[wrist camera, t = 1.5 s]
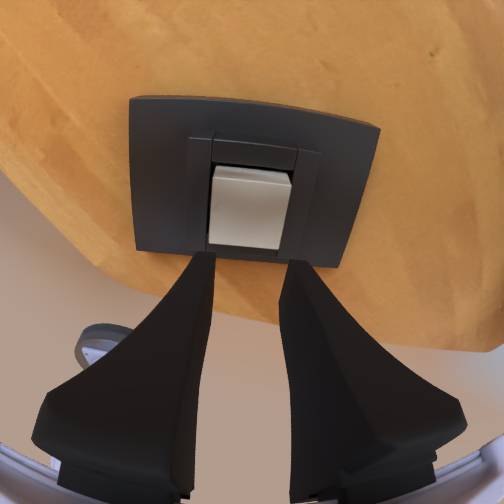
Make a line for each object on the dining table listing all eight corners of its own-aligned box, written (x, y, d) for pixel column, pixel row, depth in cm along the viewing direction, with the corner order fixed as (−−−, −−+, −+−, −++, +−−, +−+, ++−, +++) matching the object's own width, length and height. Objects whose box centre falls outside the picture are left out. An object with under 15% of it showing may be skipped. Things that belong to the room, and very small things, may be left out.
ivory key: (275, 232, 16) (278, 250, 15) (211, 226, 16) (208, 243, 15) (287, 172, 14) (292, 185, 13) (216, 164, 14) (212, 177, 13)
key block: (332, 254, 21) (344, 285, 18) (142, 237, 20) (128, 267, 17) (369, 123, 15) (395, 136, 13) (139, 95, 14) (115, 102, 11)
